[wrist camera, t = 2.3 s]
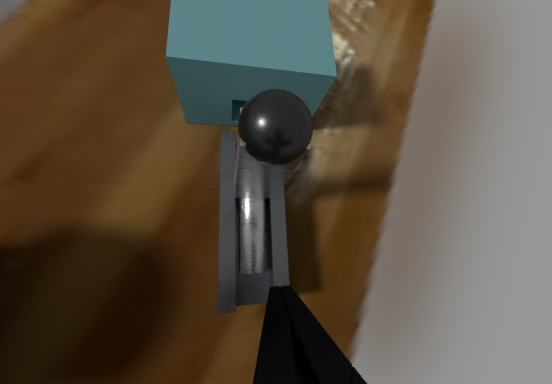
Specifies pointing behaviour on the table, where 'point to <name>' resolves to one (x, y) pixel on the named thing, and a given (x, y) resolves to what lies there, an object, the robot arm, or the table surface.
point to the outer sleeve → (230, 282)
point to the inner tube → (266, 164)
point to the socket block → (247, 54)
